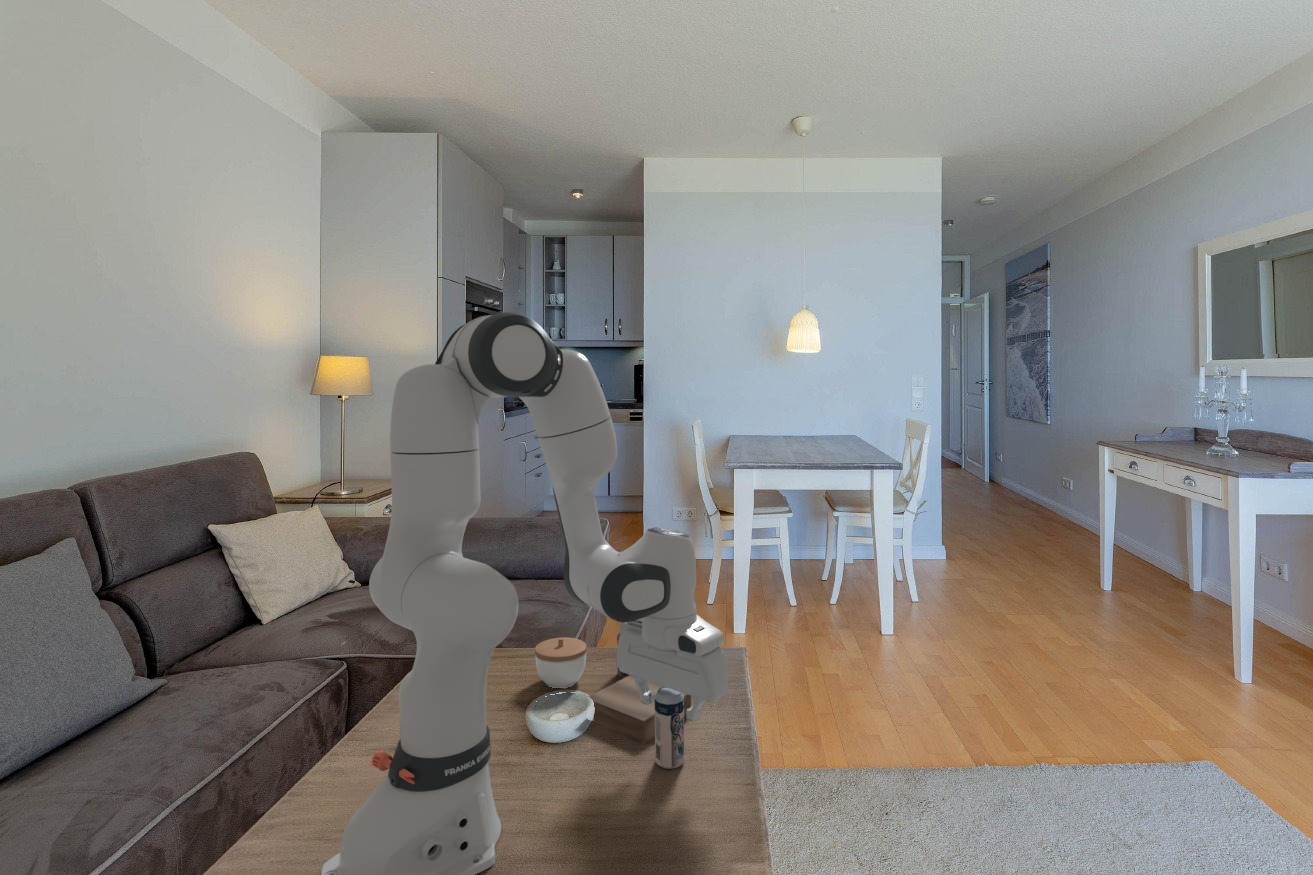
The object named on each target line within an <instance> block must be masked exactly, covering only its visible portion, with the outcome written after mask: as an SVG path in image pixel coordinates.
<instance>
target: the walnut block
mask: <svg viewBox="0 0 1313 875" xmlns="http://www.w3.org/2000/svg"><path fill="white" fill-rule="evenodd" d="M646 681H647V680H646ZM647 683H648V686H649V689H650V691H653V694H654V696H653V698H654V700H653V702H652V703H651V704H649V705H646V704H643V703H641V702H640V693H639V691H638V688H637V686H636V684H635V682H634V676H632V675H629V676H627V677H625V678H622V679H619V680H617V681H616V682H614V683H612V684H610V685H608V686H606V687H604V688H603V689H601V690H598V691H597V692H594V693H593V694H591V695H589V696H588V697H590V698H591V699H592V700H593V702H594V707H595V714H594V721H593V722H592V723H594V724H597V725H599V726H600V727H601V726H602V727H604V728H606V729H609V730H611V731H614V732H616V733H618V734H621V735H623V736H626V737H627V738H630V739H632V740H635V741H637V742H639V743H642V744H646V743H647V742H649V741H651V739H653V738H655V695H656V693H657V691H658V689H659V688H661V687H664V686H661V685H658V684H655V683H652V682H649V681H647ZM683 695H684V718H686V716H687V714H686V710H687V709H688V708H690V707H691V706H692V696H690V695H687V694H685V693H683Z"/></svg>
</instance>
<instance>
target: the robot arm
mask: <svg viewBox="0 0 1313 875" xmlns="http://www.w3.org/2000/svg"><path fill="white" fill-rule="evenodd" d="M596 374H597V373H595V370H594V368H593V367H592V364H591V363H590V361H589V359H588V358H587V357H586V356H585V355H584V354H582V353H581V352H579V351H576V350H570V349H561V348H560V347H559V346H558V345H557V344H556V343H555V342H554V341H553V340H552V339H551V338H550V336H549V334H548V333H547V332H546V330H544V329H543V327H542V326H541V325H540V324H539V323H538V322H536V320H534V319H532V318H530V317H529V316H526V315H523V314H521V313H516V312H507V311H506V312H498V313H496V314H488V315H482V316H478V317H476V318H474V319H472V320H470V321H468V322H467V323H465V324H462V325H461V326H460V327H458V328H457V329H456V330H454V332H453V333H452V334H451V335H450V336H449V338H448V339H447V341H446V342H445V345H444V347H443V349H442V351H441V352H440V355H439V356H438V358H437V359H436V361H435V363H434V364H422V365H418V366H415V367H413V368H410V369H409V370H407V371H405V372H404V373H403V374H402V375H401V376H400V377H399V378H398V380H397V382H396V385H395V389H394V393H393V394H394V395H393V401H392V406H391V408H392V409H391V416H390V430H389V431H390V434H389V436H390V437H389V439H390V440H389V441H390V442H389V443H390V444H389V445H390V447H389V448H390V453H389V454H390V478H391V482H390V484H391V513H390V522H389V528H388V532H387V537H386V542H385V546H384V550H383V554H382V556H381V558H380V559H379V560H378V561H377V562H376V563H375V565H374V566H373V569H372V571H371V574H370V576H369V581H368V582H369V583H368V588H369V589H368V591H369V594H370V597H371V599H372V601H373V603H374V604H375V606H376V607H377V608H378V609H379V611H380V612H381V613H382V614H383V615H384V616H385V617H386V619H388V620H390V621H391V622H392V623H393V624H396V625H399V626H400V627H403V628H405V629H407V630H410V631H411V632H413V634H414V637H415V641H416V651H415V652H416V653H415V658H414V662H413V666H412V669H411V671H409V672H408V673H407V674H406V675H405V676H404V677H403V679H402V681H401V682H400V685H399V690H398V699H399V700H398V702H399V703H398V704H399V706H398V707H399V731H400V733H399V734H400V735H399V737H400V739H399V741H398V742H397V745H396V748H395V749H394V750H395V751H394V754H393V756H392V755H391V754H388V753H387V752H386V751H385V750H378V751H376V752H375V753H374V754H373V757H371V763H372V764H371V765H372V766H373V767H374V768H377V769H378V770H379V771H381V772H384V771H387V770H388V772H387V776H386V777H385V778H384V780H383V781H382V782H381V783H380V784H379V785H378V787H377V788H376V789H375V790H374V791H373V792H372V793H371V795H370V796H369V797H368V798H367V799H366V800H365V801H364V803H363V804H362V805H361V806H360V807H359V809H357V811H356V812H355V813H354V814H353V815H352V816H351V817H350V818H349V819H348V821H347V823H346V825H345V827H344V830H343V833H342V838H341V843H340V849H339V850H340V851H339V852H338V853H337V854H335V855H334V856H332V857H331V858H330V859H328V860H327V861H326V862H324V863H323V864H322V867H321V872H320V875H475V874H476V875H477V873H478V874H479V873H482V872H484V871H485V870H487V869H489V868H491V867H492V866H493V865H494V864H495V862H496V851H495V848H496V845H497V842H498V841H499V839H500V836H501V832H502V822H501V819H500V817H499V814H498V811H497V808H496V804H495V801H494V800H495V799H494V795H493V790H492V783H491V778H490V767H489V760H490V759H491V749H492V747H491V732H490V727H489V726H488V724H487V680H488V678H487V677H488V673H489V672H488V671H489V666H490V663H491V659H492V656H493V653H494V650H495V649H496V647H497V646H499V644H501V643H502V642H503V641H505V639H507V637H508V636H509V634H511V631H512V629H513V628H514V626H515V623H516V620H517V617H518V614H519V613H518V612H519V604H520V603H519V597H518V593H517V589H516V588H515V586H514V584H513V583H512V582H511V581H510V580H509V579H508V578H507V577H505V575H503V574H501V573H500V572H499V571H497V570H496V569H495V568H493V567H491V566H490V565H488V564H486V563H483V562H480V561H477V560H473V559H470V558H466V557H464V555H463V551H462V549H463V548H462V547H463V540H464V537H465V535H464V534H465V532H466V528H467V525H468V523H469V521H470V519H471V518H473V517H474V516H475V515H476V514H477V513H478V512H479V509H480V506H481V501H482V499H481V496H482V495H481V466H480V465H481V464H480V462H481V460H480V439H479V438H480V436H479V423H480V416H481V412H482V410H483V407H484V405H485V404H486V402H487V401H488V400H489V399H490V398H491V399H493V398H494V399H497V398H501V399H502V398H508V397H511V398H519V399H520V400H521V401H522V402H523V403H524V404H525V406H526V407H527V409H528V412H529V413H530V415H531V417H532V422H533V424H534V429H535V432H536V435H537V440H538V443H539V446H540V450H541V452H542V455H543V459H544V461H545V462H544V463H545V465H546V467H547V468H546V469H547V471H548V474H549V479H550V483H551V488H552V493H553V497H554V502H555V503H554V504H555V507H556V511H557V515H558V519H559V520H558V521H559V524H560V529H561V533H562V537H563V542H564V550H565V553H564V554H565V555H564V561H563V562H564V564H563V582H564V587H565V589H566V590H567V592H568V594H569V595H570V596H571V597H572V598H573V599H574V600H576V601H577V602H580V603H581V604H585V605H586V606H589V607H590V608H592V609H594V610H595V611H597V612H598V613H601V614H602V615H604V616H605V617H606V618H607V617H608V618H609V619H611V620H612V621H615V622H618V623H619V632H620V637H619V642H618V650H616V652H617V653H616V667H617V669H618V668H619V670H620V671H621V672H623V673H626V674H629V675H632V676H634V682H635V684H636V686H637V688H638V691H639V693H640V702H641V703H643V704H646V705H649V704H651V703H652V702H653V700H654V698H653V696H654V694H653V691H650V689H649V686H648V683H647V681H649V682H652V683H655V684H658V685H661V686H664V687H667V688H670V689H673V690H676V691H679V692H682V693H685V694H687V695H690V696H691V703H693V705H691V707H690V708H688V709H687V710H686V714H687V716H685V718H686V720H687V721H690V722H693V723H696V722H698V721H699V720H700V718H701V709H702V707H703V705H704V704H705V703H706V702H708V703H716V701H718V700H720V699H721V698H722V697H723V696H725V694H726V693H727V691H728V667H727V666H728V664H727V658H726V655H725V652H724V650H723V649H722V648H721V647H720V646H722V645H723V644H724V641H725V640H724V639H725V635H724V633H723V631H721V630H720V629H719V628H717V627H715V626H713V625H712V624H710V623H709V622H708V621H706V620H705V619H704V618H702V617H701V616H700V615H698V614H697V604H696V602H695V591H696V587H697V561H696V551H695V547H694V543H693V540H692V538H691V537H690V535H689V534H686V533H685V532H683V531H679V530H676V529H670V528H666V527H650V528H648V529H646V530H645V532H644V534H643V535H642V536H641V537H640V538H639V539H638V540H637V541H636V542H635V543H633V544H632V545H631V546H629V547H628V548H626V549H625V550H622V551H617V550H615V548H613V547H612V545H610V544H609V542H608V541H607V540H606V538H605V536H604V534H603V530H602V525H601V522H600V521H601V520H600V516H599V511H598V510H599V509H598V505H597V503H596V502H597V500H596V495H595V494H596V493H595V492H596V487H597V484H598V482H599V481H601V480H602V479H604V478H605V477H606V476H607V475H608V474H609V473H610V472H611V470H612V469H613V467H614V466H615V463H616V460H617V458H618V445H617V443H618V442H617V436H616V431H615V426H614V422H613V419H612V416H611V412H610V408H609V406H608V402H607V400H606V397H605V394H604V392H603V391H604V390H603V388H602V386H601V384H600V381H599V379H598V376H597V375H596ZM646 680H647V681H646Z"/></svg>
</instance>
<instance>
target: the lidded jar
mask: <svg viewBox="0 0 1313 875" xmlns="http://www.w3.org/2000/svg"><path fill="white" fill-rule="evenodd" d="M587 648H588V647H587V644H586V643H585V642H584V641H583V640H581V639H578V638H574V637H555V638H550V639H549V638H548V639H546V640H543V641H541V642H539V643H537V645H536V646H535V647H534V655H535V666H536V671H537V674H538V676H539V677H540V679H541V681H542V682H544V683H545V684H546V686H547V685H548V686H549V687H548V686H547V687H548V688H550V687H552V688H551V689H553V688H560V687H562V688H563V687H566V688H563V689H562V690H564V689H569V688H571V687H573V686H575V685H576V683H577V681H579V680H580V678H581V677H582V675H583V674H584V671H585V668H586V662H587ZM568 687H569V688H568Z"/></svg>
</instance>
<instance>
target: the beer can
mask: <svg viewBox="0 0 1313 875" xmlns="http://www.w3.org/2000/svg"><path fill="white" fill-rule="evenodd" d="M654 761H655V763H656V764H657V765H658V766H659V767H661V768H663V769H667V770H673V769H676V768H679V767H680V766H682V765H683V764H684V762H685V717H684V695H683V693H682V692H679V691H676V690H673V689H670V688H667V687H661V688H659V689H658V691H657V693H656V695H655V737H654Z"/></svg>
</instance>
